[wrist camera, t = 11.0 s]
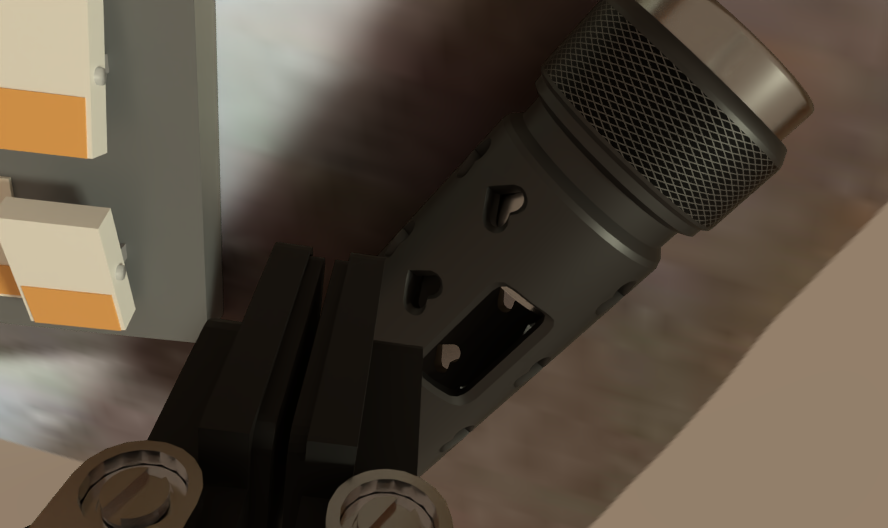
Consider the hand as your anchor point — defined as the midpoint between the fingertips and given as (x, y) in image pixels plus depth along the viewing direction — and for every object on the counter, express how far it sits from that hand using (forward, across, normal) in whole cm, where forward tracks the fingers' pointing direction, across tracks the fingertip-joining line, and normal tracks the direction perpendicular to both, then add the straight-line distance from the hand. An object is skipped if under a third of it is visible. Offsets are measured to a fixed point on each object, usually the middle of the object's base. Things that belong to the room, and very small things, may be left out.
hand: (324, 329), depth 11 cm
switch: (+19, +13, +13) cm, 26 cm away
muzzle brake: (+24, -6, +10) cm, 27 cm away
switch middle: (+19, +14, +4) cm, 24 cm away
